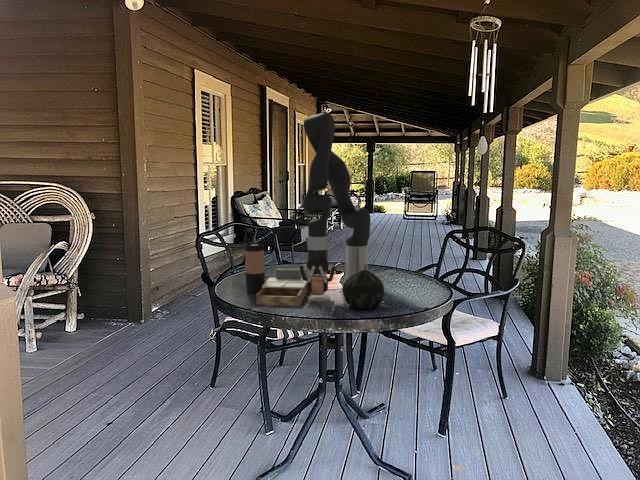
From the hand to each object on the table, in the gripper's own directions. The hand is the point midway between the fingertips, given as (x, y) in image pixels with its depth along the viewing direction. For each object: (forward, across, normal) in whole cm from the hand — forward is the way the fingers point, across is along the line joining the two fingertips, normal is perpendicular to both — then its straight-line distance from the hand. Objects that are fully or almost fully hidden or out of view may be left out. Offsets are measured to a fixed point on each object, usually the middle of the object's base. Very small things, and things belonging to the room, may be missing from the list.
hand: (317, 291), depth 193 cm
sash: (-2, +13, -5) cm, 14 cm away
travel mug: (+4, +26, -8) cm, 28 cm away
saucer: (+3, 0, 0) cm, 3 cm away
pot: (+1, 0, 0) cm, 1 cm away
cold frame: (+3, +13, 0) cm, 14 cm away
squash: (+3, -18, +8) cm, 20 cm away
